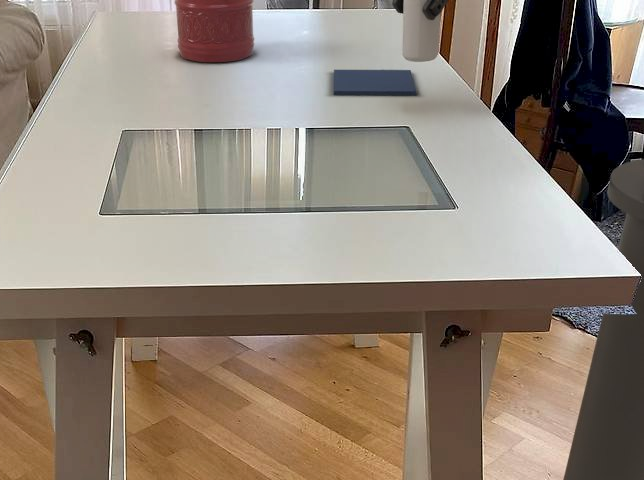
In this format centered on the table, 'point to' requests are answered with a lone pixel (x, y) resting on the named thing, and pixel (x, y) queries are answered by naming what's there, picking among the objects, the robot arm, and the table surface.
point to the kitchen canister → (215, 29)
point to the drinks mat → (374, 82)
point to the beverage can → (419, 33)
